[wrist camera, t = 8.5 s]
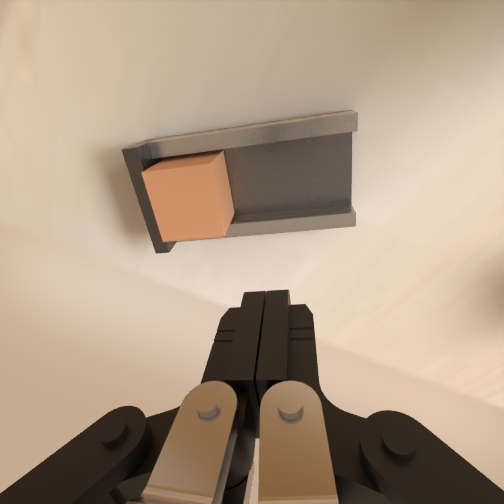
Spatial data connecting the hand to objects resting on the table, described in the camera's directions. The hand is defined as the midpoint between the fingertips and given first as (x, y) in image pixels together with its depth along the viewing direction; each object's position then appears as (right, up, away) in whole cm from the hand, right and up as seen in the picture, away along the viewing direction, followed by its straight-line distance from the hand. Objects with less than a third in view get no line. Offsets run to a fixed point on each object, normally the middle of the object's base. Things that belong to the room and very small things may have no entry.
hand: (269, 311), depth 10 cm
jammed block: (-5, +8, +17) cm, 19 cm away
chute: (0, +9, +16) cm, 18 cm away
